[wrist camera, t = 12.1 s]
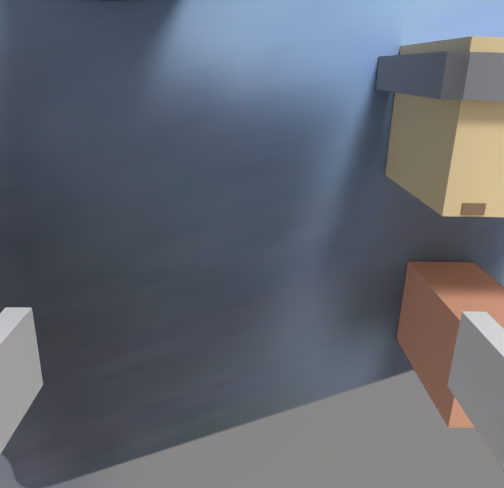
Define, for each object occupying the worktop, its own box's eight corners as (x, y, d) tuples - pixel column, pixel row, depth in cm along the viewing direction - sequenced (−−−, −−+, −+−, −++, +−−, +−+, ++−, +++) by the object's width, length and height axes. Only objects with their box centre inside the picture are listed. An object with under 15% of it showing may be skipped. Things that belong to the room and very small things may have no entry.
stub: (407, 261, 43) (468, 330, 32) (473, 262, 43) (557, 331, 32) (396, 339, 46) (448, 428, 35) (458, 339, 46) (530, 428, 35)
